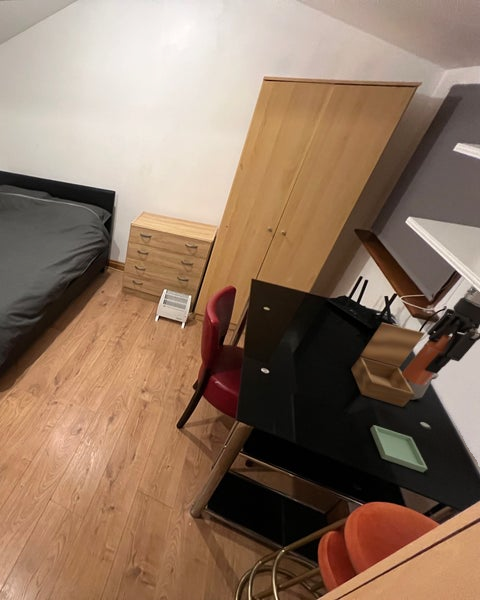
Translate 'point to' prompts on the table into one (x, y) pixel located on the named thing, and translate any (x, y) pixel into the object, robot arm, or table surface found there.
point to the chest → (382, 381)
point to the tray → (398, 448)
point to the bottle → (424, 361)
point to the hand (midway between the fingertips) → (425, 364)
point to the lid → (392, 344)
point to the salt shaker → (420, 388)
